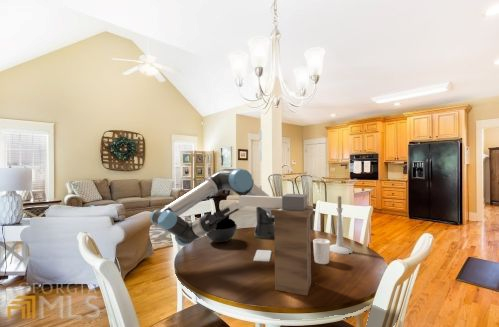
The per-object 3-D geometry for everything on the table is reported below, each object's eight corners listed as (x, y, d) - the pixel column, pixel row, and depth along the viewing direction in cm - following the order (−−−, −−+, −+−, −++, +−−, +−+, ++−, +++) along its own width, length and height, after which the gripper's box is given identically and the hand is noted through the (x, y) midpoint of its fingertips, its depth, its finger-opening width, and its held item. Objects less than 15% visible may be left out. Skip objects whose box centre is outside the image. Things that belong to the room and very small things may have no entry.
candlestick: (323, 250, 135) (322, 195, 135) (335, 244, 143) (334, 193, 143) (345, 256, 125) (344, 197, 125) (357, 250, 133) (356, 195, 134)
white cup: (318, 257, 124) (318, 237, 124) (333, 261, 118) (332, 240, 118) (310, 261, 118) (309, 240, 119) (325, 266, 113) (324, 244, 113)
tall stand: (279, 276, 102) (279, 204, 103) (313, 282, 97) (313, 206, 98) (271, 290, 91) (270, 209, 92) (309, 297, 86) (309, 211, 87)
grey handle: (244, 203, 107) (244, 192, 107) (307, 207, 97) (307, 194, 97) (236, 206, 98) (236, 194, 99) (303, 210, 89) (303, 197, 89)
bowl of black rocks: (207, 248, 138) (206, 215, 138) (202, 238, 157) (201, 209, 157) (240, 244, 145) (240, 212, 145) (232, 235, 164) (232, 207, 164)
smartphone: (252, 260, 119) (256, 249, 134) (252, 262, 119) (256, 251, 134) (269, 261, 118) (271, 250, 133) (269, 263, 118) (271, 252, 133)
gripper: (222, 225, 119) (257, 206, 113) (192, 240, 96) (234, 216, 90) (215, 212, 121) (249, 191, 114) (184, 223, 98) (225, 198, 91)
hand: (243, 202), depth 102 cm, fingers open, 13 cm apart
